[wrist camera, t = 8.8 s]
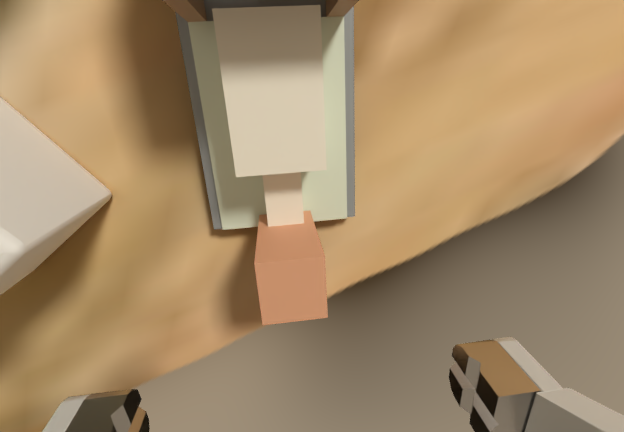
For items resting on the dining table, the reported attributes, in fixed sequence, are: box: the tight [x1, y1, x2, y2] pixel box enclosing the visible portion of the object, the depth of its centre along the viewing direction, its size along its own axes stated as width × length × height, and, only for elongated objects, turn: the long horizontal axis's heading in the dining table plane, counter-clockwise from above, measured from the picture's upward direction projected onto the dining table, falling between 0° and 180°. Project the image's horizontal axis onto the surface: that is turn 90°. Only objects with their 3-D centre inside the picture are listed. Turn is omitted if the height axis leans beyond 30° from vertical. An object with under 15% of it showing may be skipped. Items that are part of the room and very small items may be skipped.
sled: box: [212, 5, 328, 325], centre depth 14 cm, size 12×4×5 cm, turn 3°
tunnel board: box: [162, 0, 359, 230], centre depth 12 cm, size 20×8×8 cm, turn 3°
